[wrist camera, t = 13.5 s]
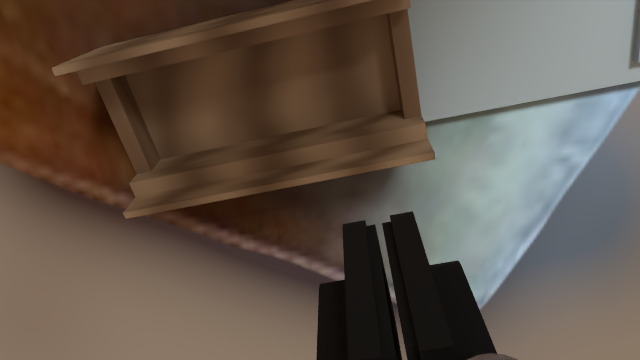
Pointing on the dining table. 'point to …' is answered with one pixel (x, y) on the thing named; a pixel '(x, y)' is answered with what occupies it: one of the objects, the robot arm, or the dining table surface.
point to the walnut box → (262, 100)
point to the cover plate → (519, 51)
